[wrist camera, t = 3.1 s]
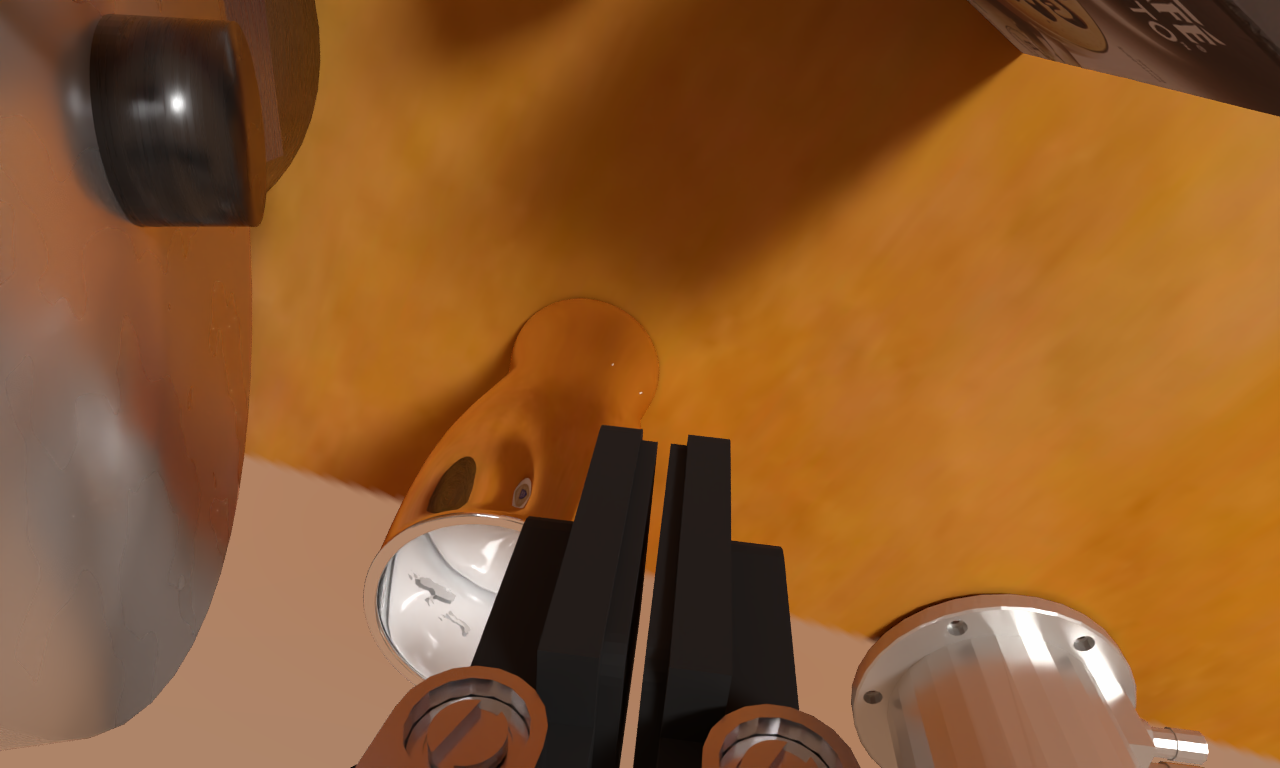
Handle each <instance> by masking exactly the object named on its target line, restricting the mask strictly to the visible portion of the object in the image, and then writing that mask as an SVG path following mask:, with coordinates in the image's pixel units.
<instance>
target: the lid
mask: <svg viewBox="0 0 1280 768" xmlns="http://www.w3.org/2000/svg"><path fill="white" fill-rule="evenodd" d="M265 200H266V150H265V136H264V126H263V117H262V109H261V102H260V96H259V90H258V84H257V79H256V74H255V69H254V65H253V61H252V57H251V53H250V50H249V46H248V43H247V40H246V38H245V35H244V33H243V31H242V29H241V27H240V26H239V24H238V23H237V22H235V21H227V19H226V12H225V6H224V1H223V0H0V751H1V750H8V749H15V748H22V747H30V746H36V745H43V744H51V743H57V742H65V741H71V740H79V739H87V738H91V737H94V736H96V735H99V734H101V733H104V732H106V731H108V730H111V729H114V728H116V727H119V726H121V725H123V724H125V723H126V722H127V721H129V720H130V719H131V718H133V717H134V716H135V715H136V714H138V713H139V712H140V711H142V710H143V709H144V708H145V707H147V706H148V705H149V704H151V703H152V702H153V700H154V699H155V698H156V697H157V695H158V694H159V693H160V692H161V691H162V689H163V688H164V687H165V686H166V685H167V684H168V682H169V681H170V680H171V679H172V678H173V676H174V675H175V673H176V672H177V670H178V669H179V667H180V665H181V663H182V662H183V660H184V658H185V657H186V655H187V653H188V652H189V650H190V648H191V647H192V645H193V643H194V641H195V639H196V636H197V634H198V632H199V630H200V627H201V625H202V623H203V620H204V618H205V616H206V614H207V611H208V609H209V606H210V604H211V601H212V598H213V595H214V591H215V589H216V586H217V583H218V580H219V577H220V574H221V570H222V567H223V563H224V559H225V555H226V551H227V547H228V543H229V539H230V536H231V530H232V526H233V520H234V515H235V510H236V505H237V500H238V495H239V488H240V480H241V474H242V466H243V460H244V452H245V442H246V432H247V422H248V410H249V394H250V378H251V347H252V279H251V246H250V228H249V227H257V226H259V224H260V223H261V221H262V218H263V214H264V208H265Z"/></svg>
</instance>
